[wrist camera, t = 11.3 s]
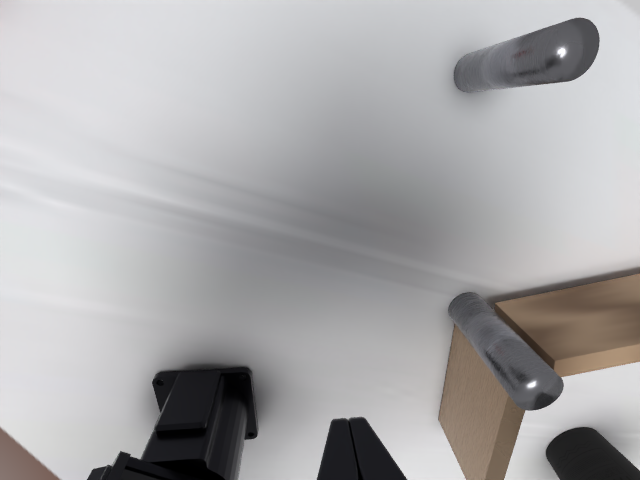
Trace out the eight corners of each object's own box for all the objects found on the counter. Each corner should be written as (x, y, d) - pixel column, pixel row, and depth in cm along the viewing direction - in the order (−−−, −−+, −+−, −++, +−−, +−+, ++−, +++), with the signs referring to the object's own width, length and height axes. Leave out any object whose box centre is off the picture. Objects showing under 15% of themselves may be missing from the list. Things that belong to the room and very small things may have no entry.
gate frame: (460, 417, 26) (515, 521, 19) (410, 421, 25) (449, 527, 19) (536, 52, 16) (696, 12, 10) (456, 52, 16) (567, 12, 9)
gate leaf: (494, 318, 21) (552, 378, 16) (494, 302, 21) (554, 360, 16) (673, 281, 21) (785, 332, 16) (678, 265, 21) (794, 312, 16)
